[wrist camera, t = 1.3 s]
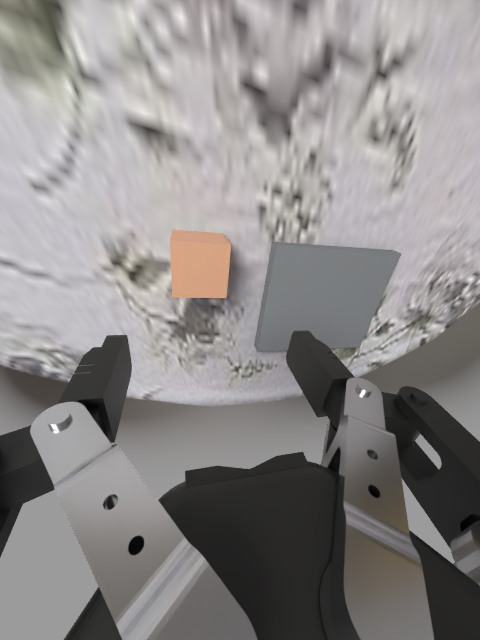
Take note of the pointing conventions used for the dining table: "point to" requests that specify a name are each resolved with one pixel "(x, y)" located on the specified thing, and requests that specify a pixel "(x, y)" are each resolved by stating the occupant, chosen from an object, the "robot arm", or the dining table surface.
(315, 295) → the mat
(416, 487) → the robot arm
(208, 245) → the cube
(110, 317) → the dining table surface
